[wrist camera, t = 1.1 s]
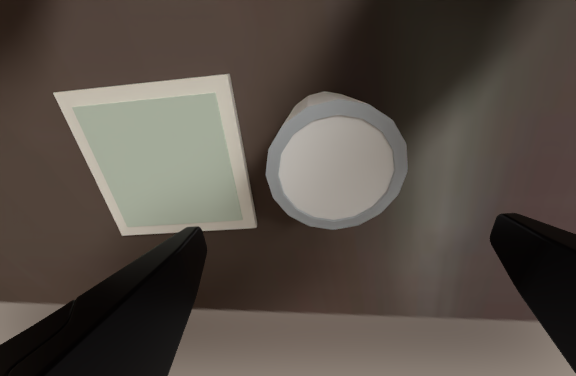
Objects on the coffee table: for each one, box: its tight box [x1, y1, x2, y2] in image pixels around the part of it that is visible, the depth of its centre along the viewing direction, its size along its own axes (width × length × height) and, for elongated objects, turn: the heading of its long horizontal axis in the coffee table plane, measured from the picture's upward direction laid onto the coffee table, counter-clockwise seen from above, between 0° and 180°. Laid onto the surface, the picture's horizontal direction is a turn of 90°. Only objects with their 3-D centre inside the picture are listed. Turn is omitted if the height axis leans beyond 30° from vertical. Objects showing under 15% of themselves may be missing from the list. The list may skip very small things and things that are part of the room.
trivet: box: [53, 74, 257, 236], centre depth 20 cm, size 12×12×1 cm
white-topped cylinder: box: [266, 91, 408, 230], centre depth 16 cm, size 7×7×7 cm
